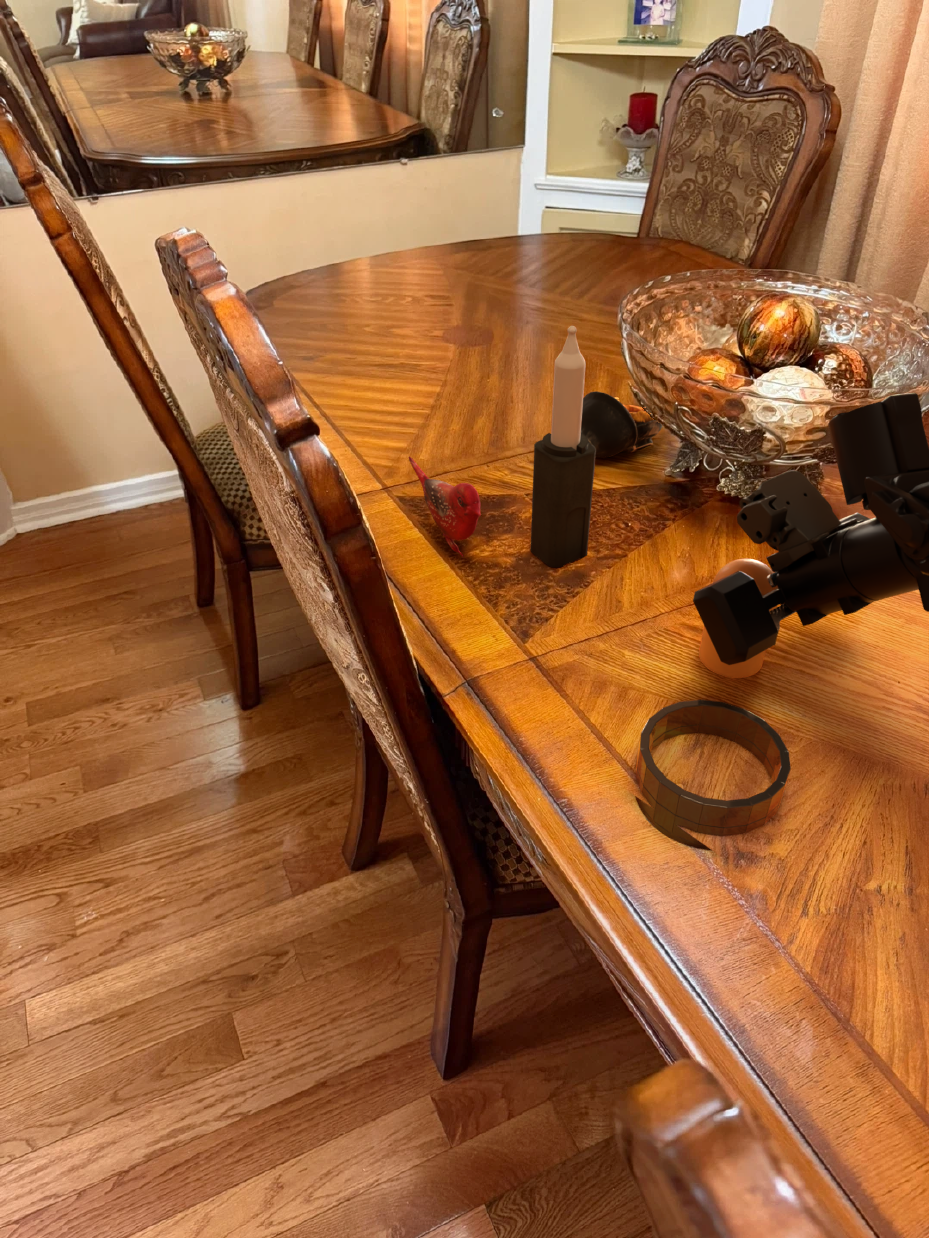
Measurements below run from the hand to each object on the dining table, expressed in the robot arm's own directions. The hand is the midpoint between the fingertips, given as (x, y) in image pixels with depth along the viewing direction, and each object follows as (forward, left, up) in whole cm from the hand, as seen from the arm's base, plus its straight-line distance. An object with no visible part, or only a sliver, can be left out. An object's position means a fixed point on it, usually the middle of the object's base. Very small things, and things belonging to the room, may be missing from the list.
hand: (727, 607), depth 78 cm
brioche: (-1, 0, -7) cm, 7 cm away
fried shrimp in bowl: (+33, -28, -7) cm, 44 cm away
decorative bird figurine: (+33, +4, -7) cm, 34 cm away
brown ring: (-8, +14, -7) cm, 17 cm away
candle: (+23, -3, -7) cm, 24 cm away
